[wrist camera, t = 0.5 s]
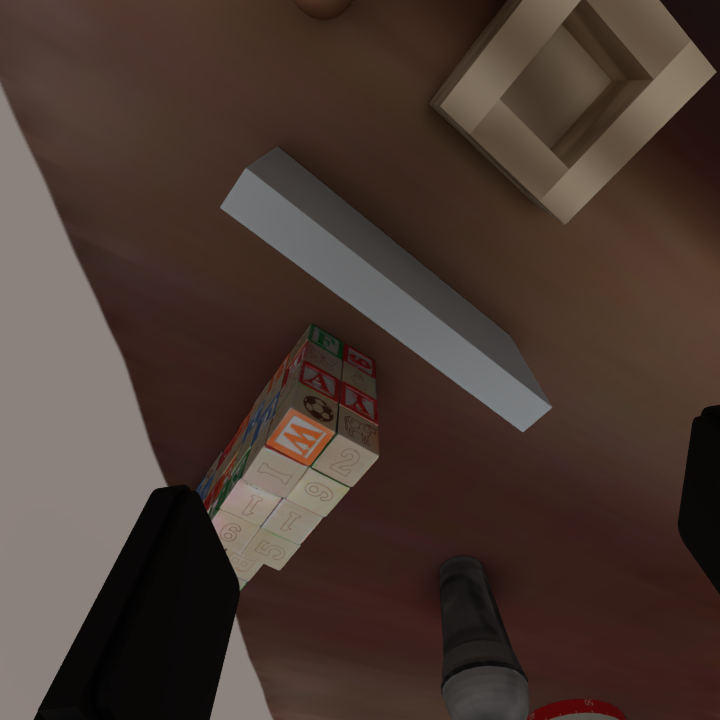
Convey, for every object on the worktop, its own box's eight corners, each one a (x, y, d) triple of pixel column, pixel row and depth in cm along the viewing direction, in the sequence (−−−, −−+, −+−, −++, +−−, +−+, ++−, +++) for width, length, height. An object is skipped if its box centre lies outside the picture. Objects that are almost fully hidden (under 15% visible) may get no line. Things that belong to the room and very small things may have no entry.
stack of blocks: (252, 518, 49) (220, 640, 38) (193, 491, 48) (143, 610, 37) (377, 359, 41) (381, 458, 30) (310, 319, 39) (290, 409, 28)
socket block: (547, -54, 28) (590, -87, 23) (656, 74, 31) (716, 72, 26) (427, 103, 32) (439, 106, 27) (534, 204, 35) (564, 225, 30)
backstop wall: (277, 146, 33) (245, 167, 24) (510, 335, 39) (552, 407, 31) (257, 176, 34) (220, 207, 25) (488, 356, 40) (522, 432, 32)
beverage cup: (418, 554, 51) (447, 798, 34) (490, 540, 50) (558, 784, 33) (434, 598, 55) (467, 842, 37) (501, 586, 54) (568, 831, 36)
